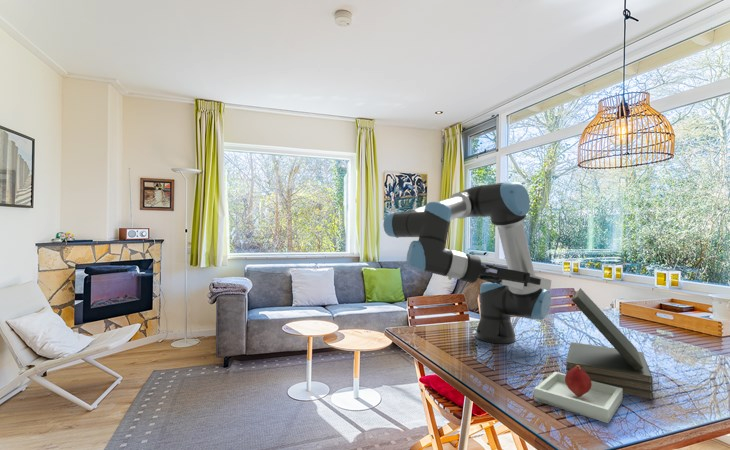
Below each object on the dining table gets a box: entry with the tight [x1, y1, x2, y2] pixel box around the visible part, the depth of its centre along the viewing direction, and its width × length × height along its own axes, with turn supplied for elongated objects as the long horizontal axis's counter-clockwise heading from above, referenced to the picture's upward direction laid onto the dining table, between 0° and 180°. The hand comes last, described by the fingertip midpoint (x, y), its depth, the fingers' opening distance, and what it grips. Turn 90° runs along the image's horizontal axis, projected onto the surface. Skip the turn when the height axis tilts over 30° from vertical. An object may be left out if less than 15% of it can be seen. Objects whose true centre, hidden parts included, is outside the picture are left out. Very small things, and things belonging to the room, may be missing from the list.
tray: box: [533, 371, 624, 424], centre depth 92 cm, size 16×16×3 cm
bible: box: [565, 287, 654, 400], centre depth 107 cm, size 23×20×25 cm
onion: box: [565, 365, 592, 397], centre depth 92 cm, size 6×6×8 cm
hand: (535, 285), depth 100 cm, fingers open, 13 cm apart
